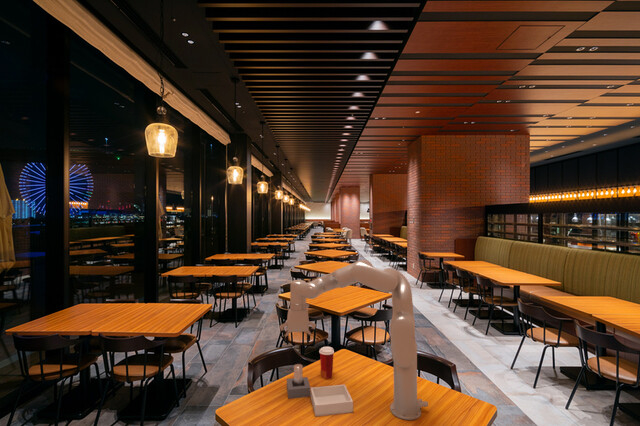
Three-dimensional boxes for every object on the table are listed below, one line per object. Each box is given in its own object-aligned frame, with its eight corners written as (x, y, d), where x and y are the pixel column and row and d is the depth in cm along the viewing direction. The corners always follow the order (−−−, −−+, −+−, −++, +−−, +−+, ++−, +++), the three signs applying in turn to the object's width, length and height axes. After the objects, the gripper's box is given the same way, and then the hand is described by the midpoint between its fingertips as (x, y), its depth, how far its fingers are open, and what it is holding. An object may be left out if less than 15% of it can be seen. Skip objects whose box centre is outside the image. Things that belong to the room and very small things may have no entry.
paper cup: (334, 373, 165) (334, 346, 166) (333, 380, 157) (333, 352, 158) (319, 372, 166) (319, 345, 166) (318, 379, 158) (318, 351, 159)
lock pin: (301, 389, 149) (301, 363, 150) (302, 393, 145) (302, 367, 146) (293, 389, 149) (293, 364, 149) (294, 394, 145) (294, 368, 145)
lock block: (307, 385, 153) (307, 377, 153) (310, 396, 143) (310, 387, 143) (286, 387, 151) (286, 378, 151) (288, 398, 141) (288, 389, 141)
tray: (344, 394, 145) (344, 384, 145) (353, 412, 131) (353, 401, 131) (310, 397, 142) (310, 387, 142) (315, 416, 128) (315, 405, 128)
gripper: (314, 304, 153) (314, 339, 153) (279, 305, 151) (278, 341, 150) (317, 308, 146) (317, 345, 146) (280, 309, 143) (279, 347, 143)
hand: (297, 343), depth 148 cm, fingers open, 9 cm apart
